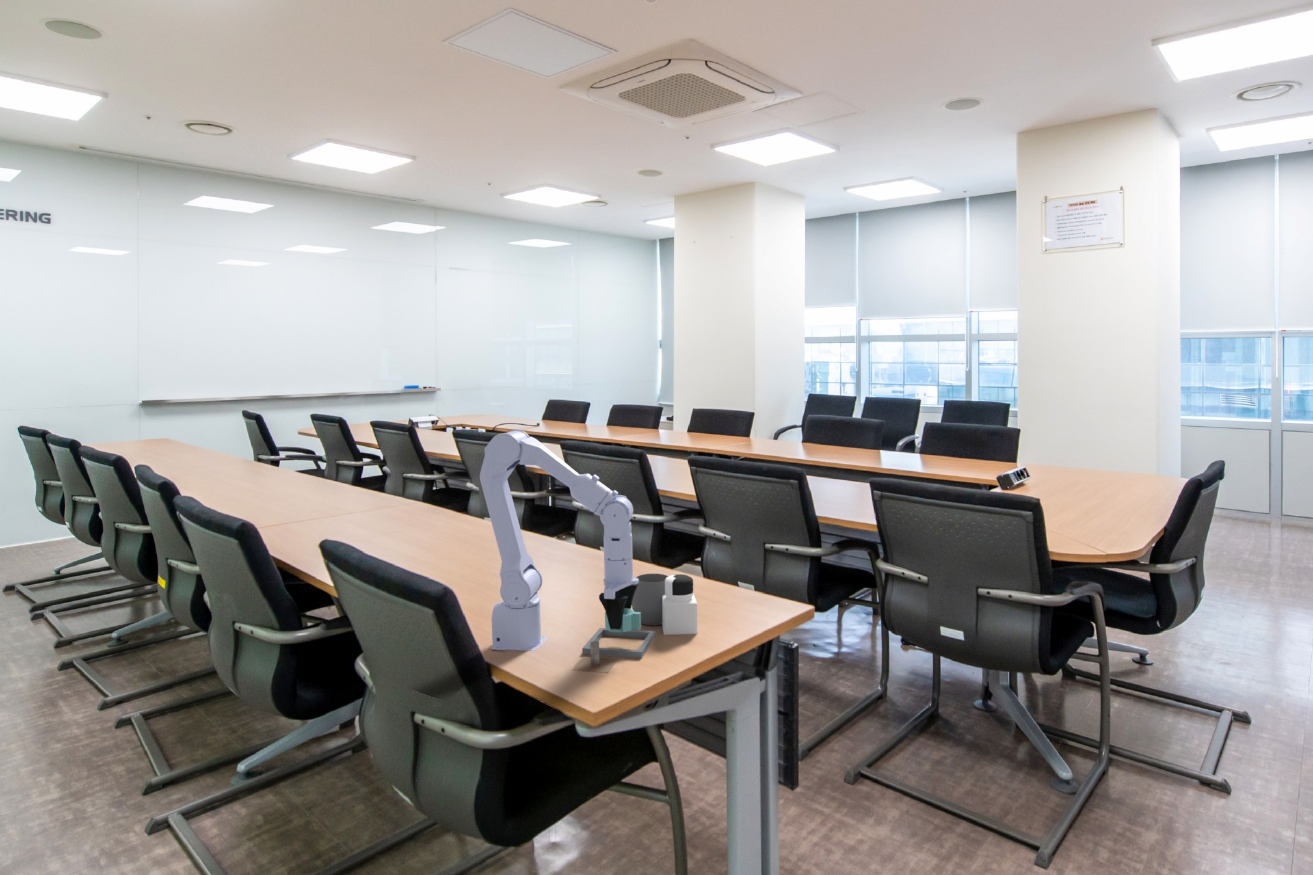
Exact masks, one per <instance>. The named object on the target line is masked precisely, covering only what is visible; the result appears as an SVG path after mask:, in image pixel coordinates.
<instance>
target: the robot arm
mask: <svg viewBox="0 0 1313 875" xmlns="http://www.w3.org/2000/svg"><path fill="white" fill-rule="evenodd" d="M482 461H483V462H482V463H481V468H480V473H479V480H480V484H481V485H480V486H481V488H482V492H483V496H484V499H485V503H486V507H487V511H488V514H489V518H490V521H491V526H492V529H493V532H494V533H493V534H494V536H495V537H494V538H495V540H496V543H497V548H498V552H499V554H500V556H499V557H500V559H501V565H500V570H499V576H500V580H501V581H500V583H501V584H500V589H499V594H500V597H501V599H502V600H503V601H498V602H496V603H495V605H494V606H493V609H492V613H491V637H492V638H491V639H492V641H491V642H492V645H491V647H490V649H491V650H492V651H506V650H512V651H513V650H514V651H515V650H517V651H530V652H531V651H532V652H535V651H536V650H537V649H539V647H540V646H542V645H543V643H544V642H546V640H547V639H549V637H548V636H544V637H543V636H542V627H541V626H542V625H541V599H540V596H539V594H538V591H540V589H541V587H542V585H543V575H542V574H541V572H540V571H539V569H538V568H537V567H536V565H535V564H534V559H533V557H531V556H530V554H529V553H528V552H527V549H526V544H525V541H524V537H523V533H522V530H521V526H520V523H519V518H518V514H517V511H516V507H515V503H514V499H513V496H512V493H511V488H510V486H509V481H508V479H509V477H510V476H511V475H512V473H513V471H514V470H515V468H516V466H517V465H521V466H522V465H525V466H536V467H539V468H540V469H542V470H543V471H544V472H546V473H547V474H549V475H551V476H552V477H553V478H554V479H557V480H558V481H559V482H561V483H562V484H563V485H565V486H566V487H568V488H569V491H570V492H569V493H570V496H571V497H572V498H573V499H575V500H576V501H577V502H578V503H580V504H581V505H582V506H583V507H585V508H586V509H587V510H589V511H590V512H592V513H593V514H594V515H596V516H599V519H600V522H601V523H602V524H601V525H603V563H604V565H603V569H604V570H603V571H604V572H603V574H604V578H603V585H604V586H603V587H604V588H603V592H600V594H599V595H598V599H599V601H600V603H601V605H602V606H603V609H604V611H605V612H606V615H607V618H608V622H609V626H610V629H619V630H620V629H621V626H622V621H623V612H624V608H630V609H632V600H633V597H634V594H635V591H636V589H637V587H638V582H639V579H638V578H636V577H634V570H633V569H634V567H633V566H634V564H633V563H634V562H633V560H634V559H633V534H632V522H631V521H630V520H631V519H632V518H633V515H634V505H633V503H632V502H631V501H630V500H629V499H628V497H627V496H626V495H621V494H619V492H618V491H617V490H615V489H614V490H612V489H610V488H609V487H608V486H606V485H605V484H603V482H601V481H600V476H598V475H597V474H593V475H591V474H590V473H583V474H580V473H578V472H577V471H576V470H574V469H573V468H572V467H571V466H570V465H569V464H568V463H567V462H565V461H564V460H563V459H561V458H560V457H558V455H556V454H555V453H554V452H552V451H551V450H550V449H549V448H547V447H546V446H545V445H544V444H543V443H542V442H540V441H539V440H538V439H537V438H535V437H533V436H530V435H529V434H528V433H527V432H525V431H523V430H521V429H513V430H511V431H510V430H509V431H508V432H504V433H503V432H502V433H498V434H496V435H495V436H493V437H492V438H491V440H490V441H489V442H488V443H487V445H486V446H485V447H484V458H483V460H482Z"/></svg>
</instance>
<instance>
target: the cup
mask: <svg viewBox="0 0 1313 875" xmlns="http://www.w3.org/2000/svg"><path fill="white" fill-rule="evenodd" d="M669 576H670V575H669ZM669 576H668V575H667V574H663V573H657V572H655V573H654V572H653V573H644V574H639V575H637V576H636V577H635V578H638V579H639V582H638V587H637V589H636V591H635V594H634V597H633V600H632V605H631V609H632V610H634V612H641V625H642V624H643V625H646V626H660V625H662V596H663V595H665V579H666V578H667V577H669Z"/></svg>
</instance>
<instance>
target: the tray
mask: <svg viewBox="0 0 1313 875" xmlns="http://www.w3.org/2000/svg"><path fill="white" fill-rule="evenodd" d="M603 636H604V637H605V636H607V637H622V638H636V639H638V638H639V639H644V640H643V642H642V643H641V645H640V646H639V648H638V649H628V648H627V649H626V648H613V647H611V648H610V647H600V646H599V657H600V656H601V657H602V656H603V657H612V658H613V657H614V658H616V657H617V658H626V659H627V658H628V659H629V658H630V659H631V658H632V659H643V657H644V656H645V654H646V653H647V651H648V649H649V648H650V647H651V644H652V643H653V641H654V640H655V638H656V631H655V630H642V629H640V630H636V629H633V630H631V631H627V632H612V631H611V632H610V631H608V630H607V629H606V628H605V627H599V628H598V629H597V631H596V632H595V633H594V634H593V635H592V636H591V637H590V639H589V640H588V641H587V642H586V643H585V645H584V646H582V648H581V649H582V653H581V654H582V655H583V656H585V655H586V656H591V642H593V641H598V642H599V641H600V640H601V639H602V637H603Z"/></svg>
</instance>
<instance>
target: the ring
mask: <svg viewBox="0 0 1313 875" xmlns="http://www.w3.org/2000/svg"><path fill="white" fill-rule="evenodd" d="M604 622H605V624H604V625H605V627H604V628H606V629H607V630H608V631H610V632H611V631H612V632H627V631H631V630H641V628H642V623H641V612H634V610H633V609H632V608H631V609H630V608H624V612H623V621H622V626H621V629H620V630H619V629H610V626H609V622H608V618H607V615H606V611H605V612H604Z"/></svg>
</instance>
